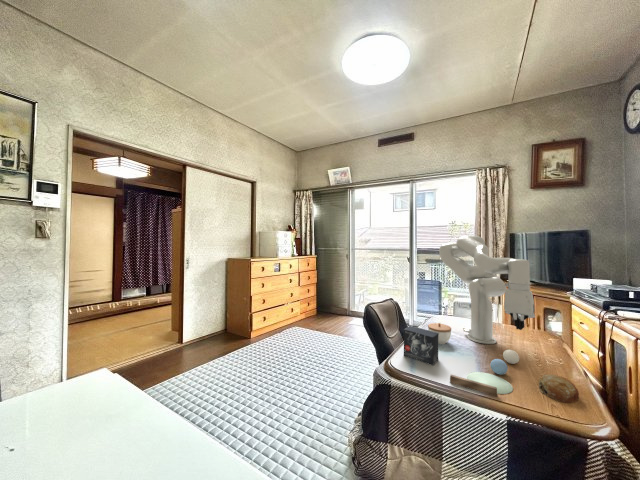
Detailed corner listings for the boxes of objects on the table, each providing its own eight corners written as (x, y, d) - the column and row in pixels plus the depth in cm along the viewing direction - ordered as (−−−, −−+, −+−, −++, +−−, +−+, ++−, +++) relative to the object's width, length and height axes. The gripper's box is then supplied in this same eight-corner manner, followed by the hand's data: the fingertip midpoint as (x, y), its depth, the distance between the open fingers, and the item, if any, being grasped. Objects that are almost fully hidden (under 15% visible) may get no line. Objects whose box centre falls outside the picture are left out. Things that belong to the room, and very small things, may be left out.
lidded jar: (450, 339, 135) (450, 321, 135) (451, 347, 125) (451, 328, 125) (428, 336, 139) (428, 318, 139) (427, 343, 129) (427, 324, 129)
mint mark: (459, 380, 96) (459, 380, 96) (475, 368, 104) (475, 368, 104) (504, 399, 85) (504, 398, 85) (518, 384, 93) (518, 383, 93)
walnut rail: (450, 382, 94) (450, 375, 94) (450, 381, 95) (450, 374, 95) (496, 396, 86) (496, 389, 86) (496, 394, 87) (496, 387, 87)
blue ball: (488, 373, 101) (488, 359, 101) (493, 368, 104) (493, 355, 104) (504, 379, 97) (504, 364, 97) (509, 374, 100) (509, 360, 100)
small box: (402, 355, 116) (403, 329, 116) (409, 351, 121) (409, 325, 121) (432, 365, 107) (433, 336, 107) (439, 360, 112) (439, 332, 112)
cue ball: (501, 362, 110) (501, 349, 110) (505, 358, 113) (505, 346, 113) (516, 367, 105) (516, 354, 105) (521, 363, 109) (521, 350, 109)
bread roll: (535, 396, 92) (527, 376, 92) (559, 383, 93) (551, 363, 93) (564, 415, 82) (554, 393, 82) (591, 400, 83) (581, 378, 83)
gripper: (496, 285, 118) (496, 326, 118) (538, 290, 107) (539, 335, 106) (502, 284, 123) (502, 323, 123) (543, 288, 111) (543, 331, 111)
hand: (519, 328), depth 114 cm, fingers closed
